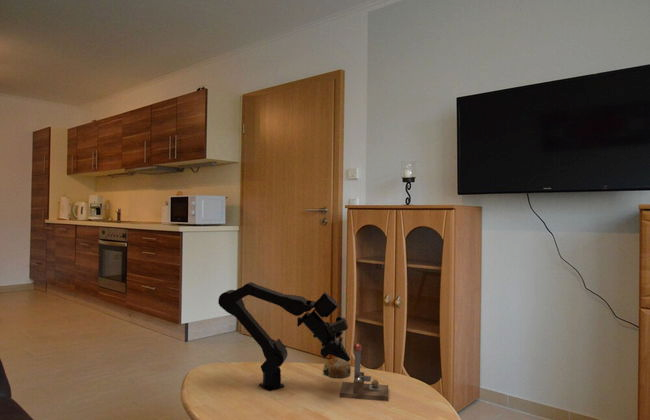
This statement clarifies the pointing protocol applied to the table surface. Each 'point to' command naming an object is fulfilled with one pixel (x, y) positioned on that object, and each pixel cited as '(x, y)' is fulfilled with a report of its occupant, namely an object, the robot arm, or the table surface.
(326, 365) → the bread roll
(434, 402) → the table surface
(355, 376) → the lever
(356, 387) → the base
